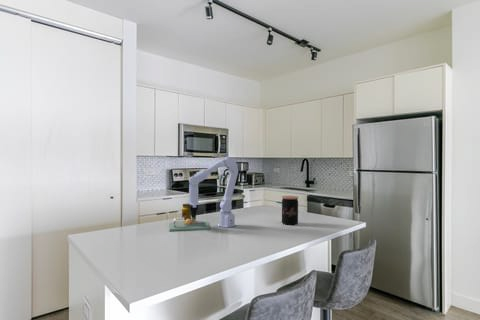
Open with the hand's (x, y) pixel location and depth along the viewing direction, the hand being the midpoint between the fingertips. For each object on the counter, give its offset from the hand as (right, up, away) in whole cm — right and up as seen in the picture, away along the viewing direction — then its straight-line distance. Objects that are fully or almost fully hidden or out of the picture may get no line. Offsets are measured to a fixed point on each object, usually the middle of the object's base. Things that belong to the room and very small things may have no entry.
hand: (193, 217), depth 175 cm
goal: (-9, -5, -2) cm, 10 cm away
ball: (-3, -3, -1) cm, 4 cm away
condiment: (-7, -6, +15) cm, 18 cm away
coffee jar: (+62, -7, +11) cm, 64 cm away
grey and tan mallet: (0, -5, 0) cm, 5 cm away
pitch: (-3, -6, -1) cm, 7 cm away
